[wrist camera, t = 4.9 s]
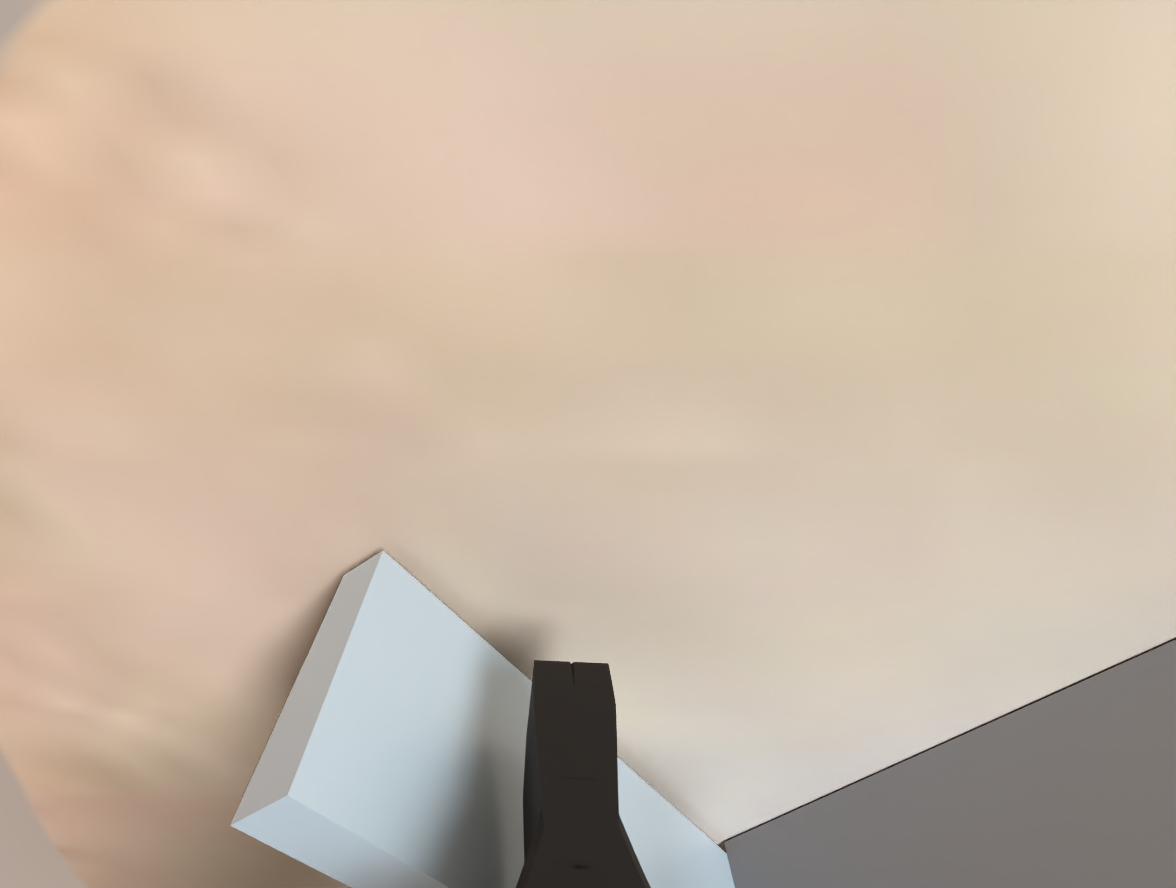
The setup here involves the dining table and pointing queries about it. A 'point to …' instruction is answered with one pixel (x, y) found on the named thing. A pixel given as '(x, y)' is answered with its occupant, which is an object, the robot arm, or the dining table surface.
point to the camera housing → (1002, 802)
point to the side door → (424, 756)
